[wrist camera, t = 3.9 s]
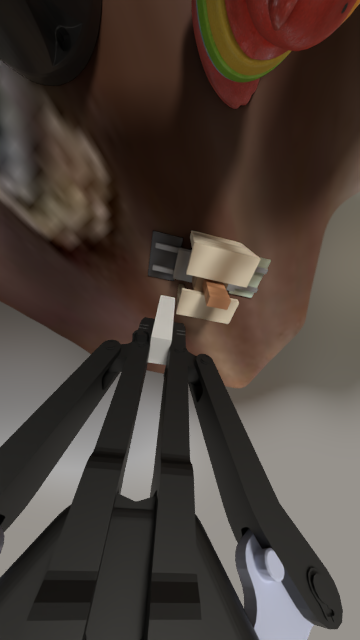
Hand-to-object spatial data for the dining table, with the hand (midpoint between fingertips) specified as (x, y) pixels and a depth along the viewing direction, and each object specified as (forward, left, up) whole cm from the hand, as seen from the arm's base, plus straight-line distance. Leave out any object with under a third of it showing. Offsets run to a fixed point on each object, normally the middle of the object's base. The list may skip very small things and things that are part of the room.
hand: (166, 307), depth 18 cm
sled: (+7, 0, -16) cm, 17 cm away
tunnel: (+7, 0, -17) cm, 18 cm away
